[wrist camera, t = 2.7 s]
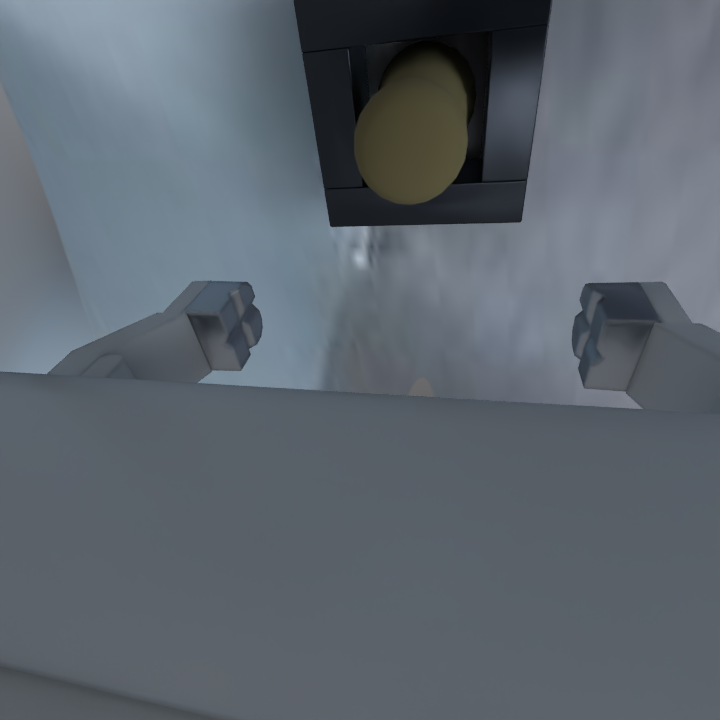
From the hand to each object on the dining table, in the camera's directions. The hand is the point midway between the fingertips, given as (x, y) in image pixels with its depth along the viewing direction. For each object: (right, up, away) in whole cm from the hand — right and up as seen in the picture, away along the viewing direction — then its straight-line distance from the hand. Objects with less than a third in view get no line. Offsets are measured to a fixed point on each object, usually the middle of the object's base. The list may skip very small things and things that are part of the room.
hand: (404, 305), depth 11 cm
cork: (+3, +15, +16) cm, 22 cm away
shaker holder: (+3, +15, +16) cm, 22 cm away
